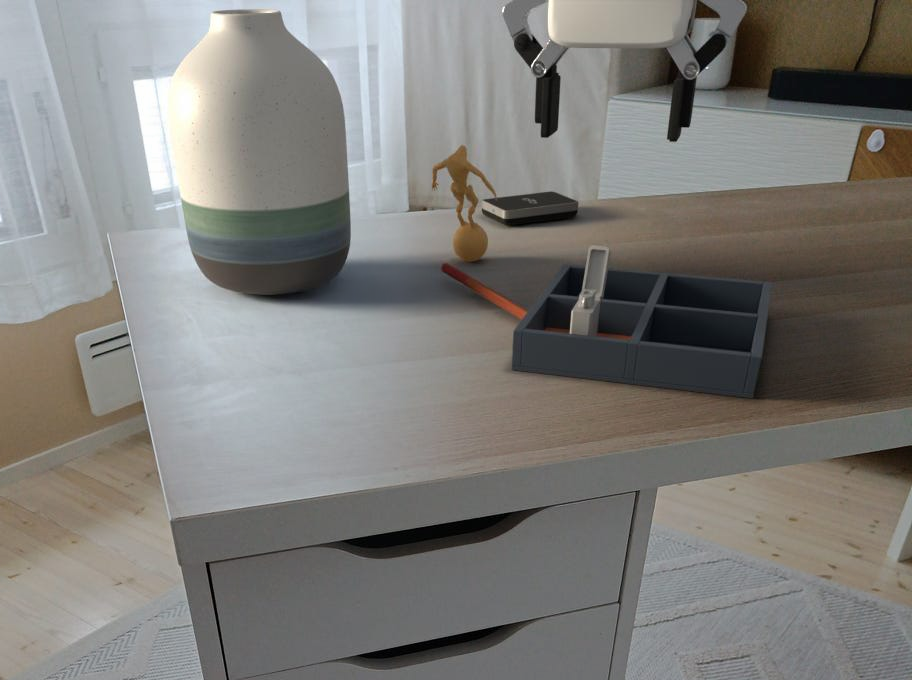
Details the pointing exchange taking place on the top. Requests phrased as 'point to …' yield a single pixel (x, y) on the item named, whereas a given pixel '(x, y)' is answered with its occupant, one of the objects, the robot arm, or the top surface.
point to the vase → (260, 157)
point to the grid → (651, 331)
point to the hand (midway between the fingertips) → (610, 136)
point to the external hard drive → (529, 208)
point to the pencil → (485, 291)
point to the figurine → (468, 236)
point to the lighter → (591, 292)
